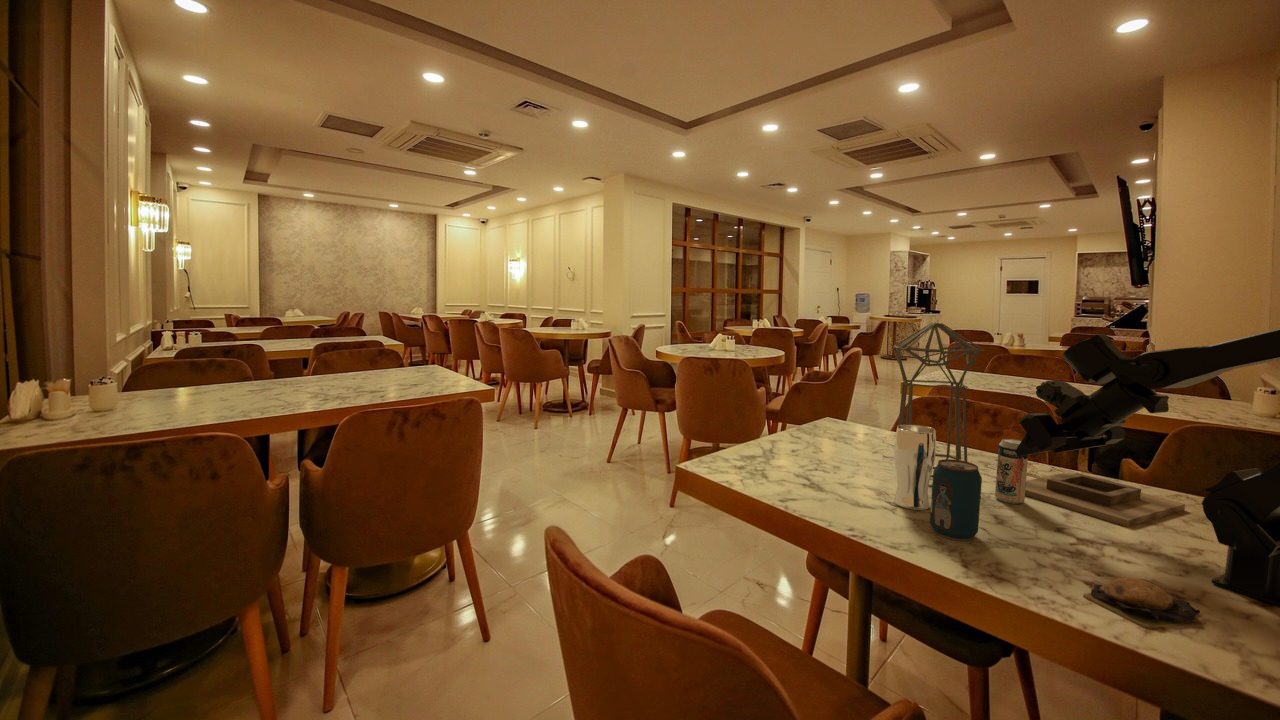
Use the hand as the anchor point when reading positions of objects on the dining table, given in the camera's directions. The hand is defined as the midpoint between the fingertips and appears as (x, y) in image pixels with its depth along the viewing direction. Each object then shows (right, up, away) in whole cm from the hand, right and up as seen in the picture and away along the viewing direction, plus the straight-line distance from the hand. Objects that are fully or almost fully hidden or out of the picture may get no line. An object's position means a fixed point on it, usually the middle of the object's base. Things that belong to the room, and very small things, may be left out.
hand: (1035, 452), depth 97 cm
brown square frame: (+16, -11, +6) cm, 20 cm away
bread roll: (-11, -15, -31) cm, 36 cm away
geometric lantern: (-11, -9, +17) cm, 22 cm away
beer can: (-1, -11, +5) cm, 12 cm away
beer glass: (-22, -11, +3) cm, 25 cm away
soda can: (-22, -12, -10) cm, 27 cm away
